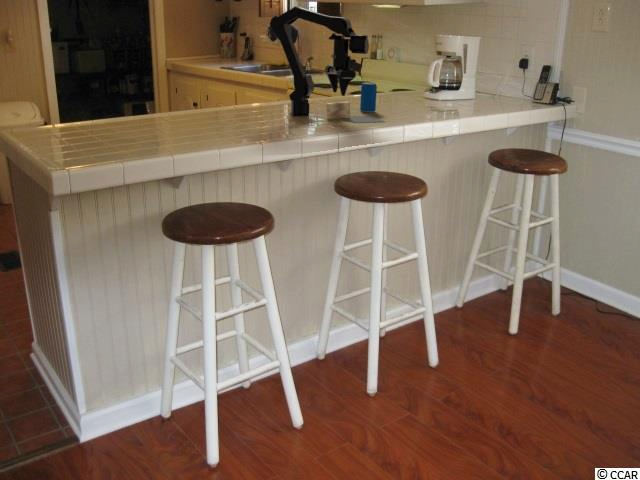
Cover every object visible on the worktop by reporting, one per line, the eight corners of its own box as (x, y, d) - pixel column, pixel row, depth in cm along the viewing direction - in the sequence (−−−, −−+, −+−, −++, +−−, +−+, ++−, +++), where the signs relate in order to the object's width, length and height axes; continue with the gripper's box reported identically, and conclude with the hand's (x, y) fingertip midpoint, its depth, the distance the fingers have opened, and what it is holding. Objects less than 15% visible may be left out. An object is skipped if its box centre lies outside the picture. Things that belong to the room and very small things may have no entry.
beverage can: (377, 113, 265) (379, 84, 260) (362, 113, 263) (364, 84, 259) (372, 110, 271) (373, 82, 266) (357, 110, 269) (359, 82, 265)
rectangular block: (328, 119, 248) (328, 104, 245) (327, 118, 249) (326, 103, 247) (350, 117, 250) (349, 102, 248) (348, 116, 252) (348, 101, 250)
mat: (354, 123, 241) (354, 122, 241) (341, 117, 253) (341, 116, 253) (385, 122, 245) (385, 121, 245) (371, 116, 257) (371, 115, 257)
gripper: (369, 54, 235) (367, 97, 241) (351, 50, 252) (349, 90, 257) (341, 54, 232) (339, 97, 237) (325, 50, 248) (323, 90, 254)
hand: (339, 94), depth 246 cm, fingers open, 9 cm apart
